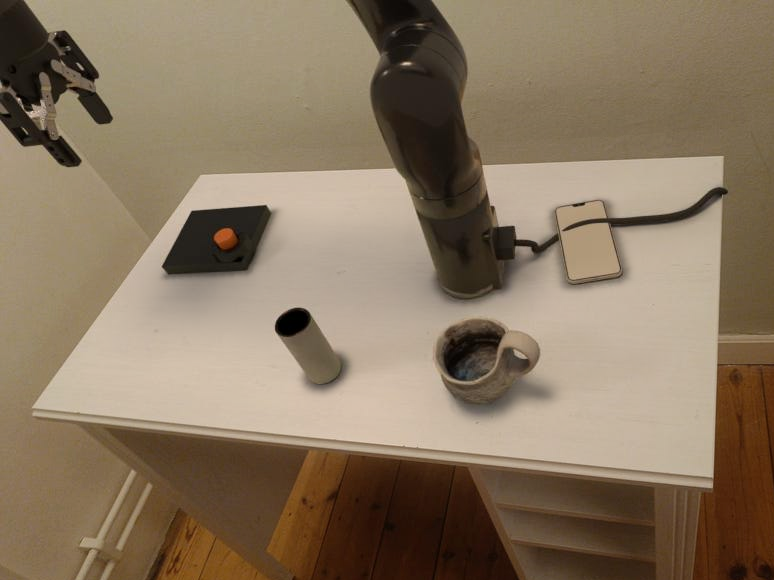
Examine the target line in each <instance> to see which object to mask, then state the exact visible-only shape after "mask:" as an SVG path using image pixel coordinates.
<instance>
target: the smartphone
mask: <svg viewBox="0 0 774 580" xmlns="http://www.w3.org/2000/svg"><path fill="white" fill-rule="evenodd" d="M553 213H554V219H555V225H556V230H557V233H558V234H559V240H558V241H559V246H560V250H561V256H562V261H563V267H564V272H565V278H566V281H567V282H568V283H569V284H572V285H575V284H582V283H589V282H595V281H600V280H608V279H614V278H618V277H620V276H621V275H622V273H623V267H622V263H621V260H620V256H619V252H618V248H617V243H616V239H615V236H614V232H613V229H612V225H610V223H594V224H588V225H583V226H580V227H577V228H574V229H571V230H568V231H564V232H563V231H562V230H563V229H565V228H566V227H568V226H570V225H572V224H574V223H577V222H580V221H584V220H589V219H597V218H610V217H609V214H608V209H607V206H606V203H605V201H604V200H603V199H594V200H588V201H582V202H577V203H572V204H565V205H560V206H557V207H556V208H555V209H554V212H553Z"/></svg>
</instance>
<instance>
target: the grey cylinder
mask: <svg viewBox="0 0 774 580" xmlns="http://www.w3.org/2000/svg"><path fill="white" fill-rule="evenodd" d="M274 331H275V333H276V336H278V338H279V339H280V341H281V342H282V343H283V344H284V346H285V348H286V349H287V350H288V351H289V352H290V354H291V355H292V357H293V358H294V359H295V361H296V363H297V364H298V365H299V367H300V368H301V369H302V370H303V372H304V373H305V374H306V376H307V377H308V379H309V380H310V381H311V382H312V383H314V384H317V385H325V384H328V383H330V382H332V381H334V380H335V379H336V378H337V377H338V376H339V375H340V372H341V370H342V363H341V360H340V358H339V357H338V355H337V353H336V352H335V350H334V349H333V347H332V346H331V344H330V342H329V341H328V339H327V338H326V336H325V334H324V333H323V331H322V330H321V328H320V326H319V325H318V323H317V322H316V320H315V318H314V317H313V316H312V314H311V312H310V310H308V309H306V308H304V307H292V308H290V309H288V310H285V311H284V312H282V313H281V314H280V315H279V316H278V318H276V321H275V323H274Z"/></svg>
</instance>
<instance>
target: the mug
mask: <svg viewBox="0 0 774 580" xmlns="http://www.w3.org/2000/svg"><path fill="white" fill-rule="evenodd" d="M432 348H433V349H432V350H433V351H432V359H433V362H434V365H435V367H436V369H437V371H438V373H439V374H440V377H441V381H442V383H443V385H444V387H445V388H446V389H447V390H448V391H449V392H450V394H451V395H453V396H454V397H455V398H456V399H457V400H458V401H460V402H461V403H462V402H463V403H464V404H467V405H471V406H477V405H479V406H480V405H486V404H488V403H491V402H492V401H495V400H497V399H498V398H500V397H501V396H503V395H504V394H505V393H507V391H508V390H509V389H510V388H511V387H512V385H513V384H514V382H515V380H516V379H517V378H519V377H522V376H525V375H527V374H529V373H530V372H531V371H532V370H533V369H535V367H536V366H537V364H538V363H539V360H540V357H541V348H540V346H539V343H538V342H537V340H536V339H534V338H533V337H532V336H531V335H529V334H528V333H525V332H524V331H519V330H514V329H513V330H512V329H511V330H510V329H509V327H508V326H507V325H506V324H505V323H504V322H502V321H500V320H499V319H496V318H494V317H488V316H484V315H483V316H474V317H467V318H466V317H465V318H462V319H460V320H457V321H455V322H453V323H451V324H449V325H447V326H446V327H445V328H444V329H443V330H442V331H441V332H440V333H439V336H437V338H436V340H435V342H434V344H433V347H432ZM515 351H517V352H519V353H521V354H522V355H523V356H524V357H525V358H521V357H519V356H517V355H516V353H515Z"/></svg>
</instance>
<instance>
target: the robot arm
mask: <svg viewBox="0 0 774 580" xmlns="http://www.w3.org/2000/svg"><path fill="white" fill-rule="evenodd" d="M345 2H346V3H347V4H348V6H349V7H350V8H351V10H352V11H353V12H354V14H355V15H356V17H357V18H358V20H359V21H360V23H361V24H362V26H363V28H364V30H365V31H366V33H367V34H368V36H369V37H370V39H371V41H372V43H373V45H374V47H375V49H376V51H377V52H378V55H379V59H378V62H377V65H376V67H375V69H374V71H373V75H372V77H371V81H370V85H369V99H370V105H371V109H372V114H373V117H374V119H375V122H376V125H377V127H378V130H379V133H380V135H381V138H382V140H383V142H384V145H385V147H386V150H387V152H388V155H389V158H390V160H391V162H392V165H393V166H394V169H395V170H396V172H397V173H398V174H399V175H400V176H401V178H403V179H404V180H405V184H406V186H407V189H408V192H409V196H410V199H411V201H412V205H413V209H414V210H415V213H416V216H417V220H418V222H419V226H420V228H421V231H422V234H423V237H424V240H425V242H426V246H427V249H428V252H429V255H430V258H431V261H432V264H433V266H434V270H435V273H436V277H437V281H438V284H439V286H440V288H441V289H442V291H443V292H444V293H446V294H447V295H448V296H451V297H454V298H457V299H466V300H467V299H474V298H478V297H482V296H484V295H486V294H488V293H490V292H492V291H493V290H497V289H499V290H500V289H502V287H503V281H504V274H505V262H506V261H513V260H515V259H516V248H517V247H523V248H525V247H526V248H530V249H531V252H532V253H534V254H539V253H542V252H544V251H545V250H547V249H548V248H550V247H551V246H553V245H554V244H555V243H557V242H559V241H560V240H559V234H558V232H557V233H556V234H554V235H553V236H552V237H550V239H548V240H547V241H545V242H543V243H541V244H540V245H539V244H538V242H537V241H535V240H531V239H521V238H520V239H519V238H518V237H517V231H516V226H515V225H502V226H500V225H499V220H498V216H497V210H496V206H495V205H491V201H490V197H489V192H488V186H487V183H486V178H485V173H484V168H483V163H482V158H481V157H482V156H481V153H480V148H479V147H478V145H477V143H476V142H475V140H473V139H472V138H471V137H470V136H469V135H468V131H467V127H466V123H465V119H464V118H465V117H464V112H463V108H462V103H463V98H464V94H465V91H466V86H467V81H468V75H469V69H468V59H467V55H466V52H465V49H464V47H463V45H462V43H461V41H460V39H459V37H458V36H457V34H456V33H455V31H454V29H453V27H452V26H451V25H450V23H449V22H448V20H447V19H446V17H444V15H443V13H442V12H441V11H440V10H439V8H438V7H437V5H436V4H435V2H434V1H433V0H345ZM80 66H81V67H80ZM81 68H82V69H81ZM99 78H100V73H99V70H97V68H96V67H95V66H94V65H93V63H92V62H91V60H90V59H89V58H88V57H87V56H86V54H85V52H84V51H83V50H82V48H80V46H79V45H78V43H76V41H75V40H74V39H73V38H72V36H71V35H70V33H69V32H68V31H66V30H65V29H64V30H55V31H49V32H48V31H47V29H46V28H45V26H44V25H43V23H42V22H41V21H40V20H39V18H38V17H37V16H36V14H35V13H34V11H33V10H32V9H31V8H30V7H29V5H28V4H27V2H26V0H0V85H1V87H0V122H1V123H2V124H3V125H4V126H5V128H6V129H7V130H8V132H9V133H10V134H11V135H12V136H13V137H14V138H15V140H16V141H17V142H18V144H20V145H21V146H22V147H23V148H29V147H37V146H42V147H43V148H44V149H45V150H46V152H48V153H49V154H50V155H51V157H52V158H53V159H54V160H55V161H56V162H57V164H59V165H60V166H61V167H66V168H75V167H79V166H80V165H81V164H82V162H83V160H82V158H81V157H80V156H79V155H78V154H77V152H76V151H75V150H74V148H72V147H71V145H70V144H69V142H67V140H66V139H65V138H64V136H62V135H59V131H58V128H57V123H56V120H55V119H56V117H57V115H58V114H57V109H56V106H55V105H56V104H57V103H58V101H59V100H60V97H61V95H63V94H65V93H66V92H67V91H68V92H70V93H72V94H75V95H78V96H77V97H76V99H77V100H78V102H79V103H80V104H81V105H82V107H83V108H84V109H85V111H86V112H87V114H88V115H89V116H90V117H91V118H92V120H93V121H94V122H95V123H96V124H97V125H99V126H100V125H108V124H111V123H112V122H113V120H114V117H113V116H112V114H111V111H110V109H109V107H108V106H107V105H106V104H105V102H104V101H103V99H102V98H101V96H100V95H99V94H98V92H97V87H96V86H97V85H96V84H95V81H96V80H98V79H99ZM33 106H35V107H41V108H40V109H38V110H34V108H33ZM41 121H42V124H41ZM42 125H43V128H42ZM728 194H729V189H726V188H725V187H722V186H717V187H714V188H712V189H709V190H708V191H707V192H706V193H705V194H704V195H703V196H702V197H701V198H700V199H698V200H697V201H696V202H695V203H694V204H692V205H691V206H689V207H687V208H685V209H681V210H678V211H674V212H670V213H662V214H651V215H639V216H630V217H609V218H597V219H589V220H584V221H580V222H577V223H574V224H572V225H570V226H568V227H566V228H565V229H563V230H562V231H563V232H564V231H568V230H571V229H574V228H577V227H580V226H583V225H588V224H594V223H610V225H611V226H620V225H622V226H623V225H633V224H642V223H643V224H644V223H647V224H648V223H659V222H660V223H661V222H667V221H674V220H677V219H678V220H679V219H682V218H685V217H688V216H690V215H692V214H695V213H696V212H697V211H699V210H700V209H701V208H703V206H705V205H707V203H708V202H709V201H710V200H711V199H712V198H714V197H715V196H716V195H721V196H726V195H728Z"/></svg>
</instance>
